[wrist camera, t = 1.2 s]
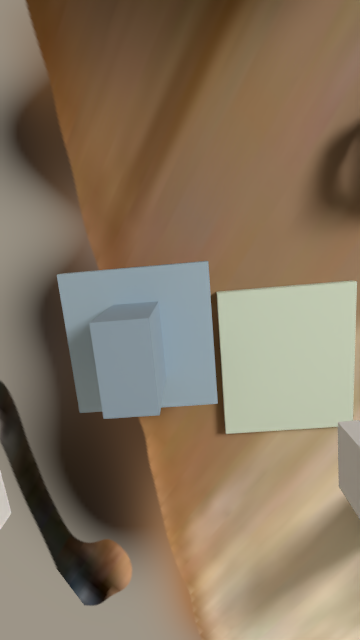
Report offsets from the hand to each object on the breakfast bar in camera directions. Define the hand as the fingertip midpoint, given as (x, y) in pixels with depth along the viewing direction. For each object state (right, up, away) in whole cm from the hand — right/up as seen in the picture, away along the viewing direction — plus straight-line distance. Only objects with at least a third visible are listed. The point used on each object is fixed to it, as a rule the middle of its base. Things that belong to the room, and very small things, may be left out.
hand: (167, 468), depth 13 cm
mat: (+12, +1, +23) cm, 26 cm away
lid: (-3, +4, +18) cm, 19 cm away
